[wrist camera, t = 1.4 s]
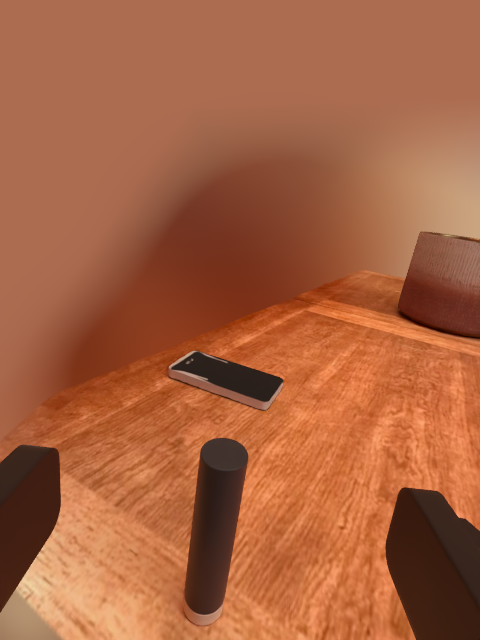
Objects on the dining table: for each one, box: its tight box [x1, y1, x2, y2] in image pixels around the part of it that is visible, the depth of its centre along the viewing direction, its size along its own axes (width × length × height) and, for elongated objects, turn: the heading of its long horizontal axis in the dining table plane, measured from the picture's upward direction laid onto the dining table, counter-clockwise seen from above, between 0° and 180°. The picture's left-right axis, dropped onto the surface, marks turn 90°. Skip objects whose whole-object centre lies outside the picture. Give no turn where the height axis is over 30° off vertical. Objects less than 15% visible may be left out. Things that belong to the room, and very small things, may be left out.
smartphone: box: [168, 351, 283, 410], centre depth 51 cm, size 8×1×15 cm
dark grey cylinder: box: [183, 438, 248, 626], centre depth 21 cm, size 3×3×12 cm
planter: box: [398, 232, 480, 337], centre depth 94 cm, size 25×25×22 cm
